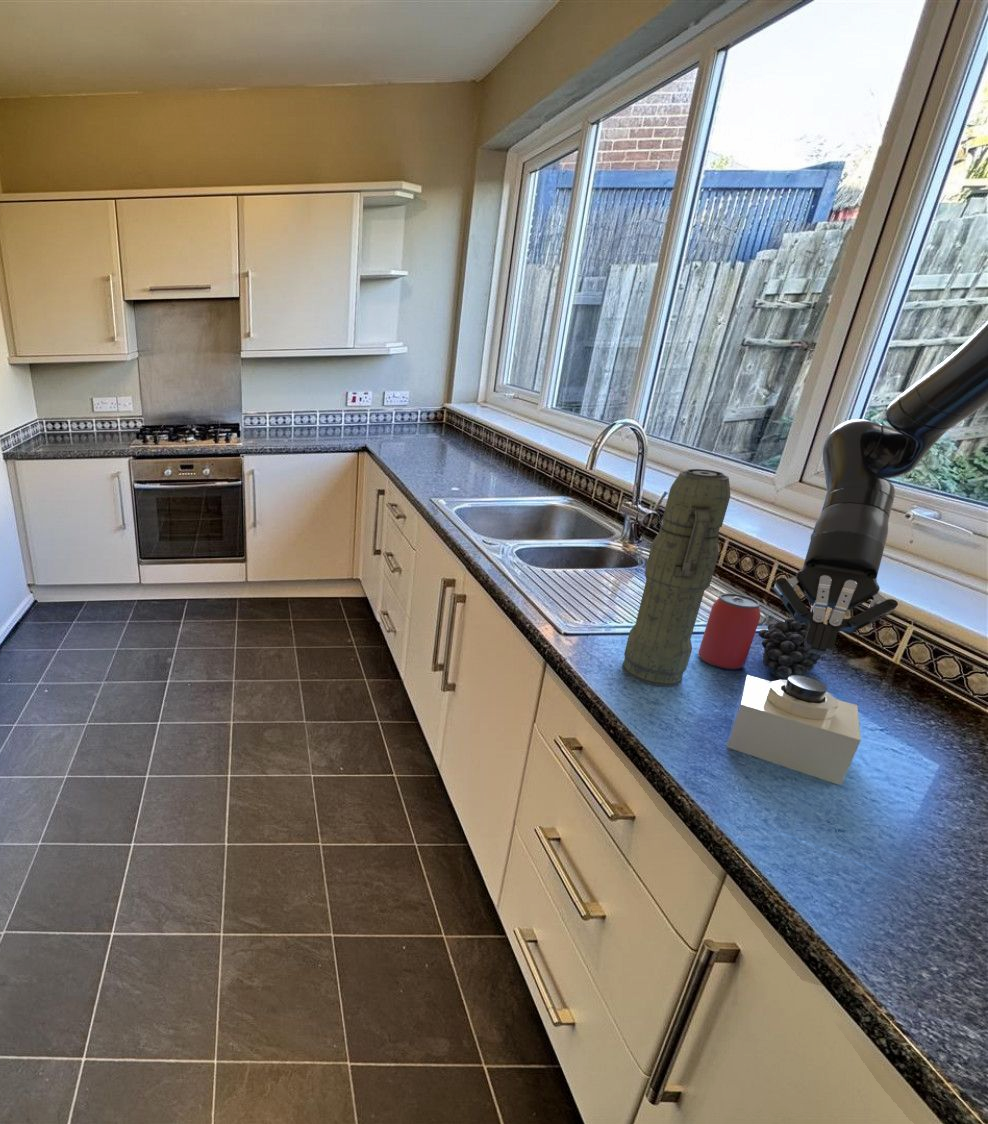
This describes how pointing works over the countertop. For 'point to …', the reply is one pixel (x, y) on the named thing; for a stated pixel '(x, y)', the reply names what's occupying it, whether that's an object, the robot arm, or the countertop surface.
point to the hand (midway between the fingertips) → (817, 651)
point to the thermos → (677, 578)
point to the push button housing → (795, 730)
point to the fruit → (787, 649)
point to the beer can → (730, 631)
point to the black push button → (805, 689)
